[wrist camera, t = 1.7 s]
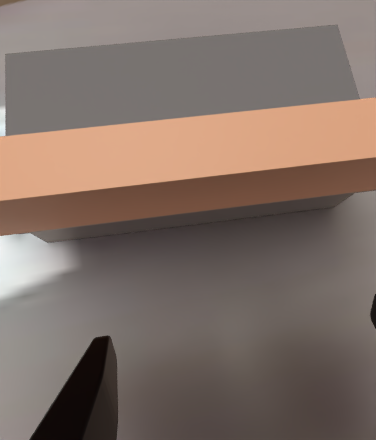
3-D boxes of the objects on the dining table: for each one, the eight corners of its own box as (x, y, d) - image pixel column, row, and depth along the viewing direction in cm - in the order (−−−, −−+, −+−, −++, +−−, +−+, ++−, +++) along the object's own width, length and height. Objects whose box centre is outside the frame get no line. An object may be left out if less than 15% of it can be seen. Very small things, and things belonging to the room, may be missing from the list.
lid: (386, 166, 19) (389, 189, 19) (1, 212, 17) (3, 236, 17) (708, 63, 8) (718, 117, 8) (-294, 166, 6) (-289, 234, 6)
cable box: (334, 206, 25) (382, 174, 19) (-96, 260, 23) (-188, 242, 17) (303, 86, 27) (337, 24, 22) (-86, 125, 25) (-164, 68, 20)
